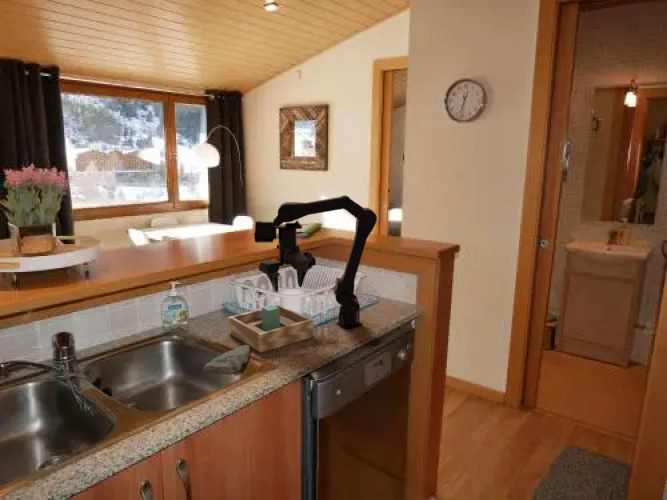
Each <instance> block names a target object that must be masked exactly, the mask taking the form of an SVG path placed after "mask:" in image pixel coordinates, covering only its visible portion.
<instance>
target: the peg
mask: <svg viewBox="0 0 667 500" xmlns="http://www.w3.org/2000/svg"><path fill="white" fill-rule="evenodd" d="M261 309H262V330H263V331H265V332H266V331H270V330H273V329H277V328H280V308H278V307H276V305H273V304H271V305H266V306H263V307H261Z"/></svg>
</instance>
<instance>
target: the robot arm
mask: <svg viewBox="0 0 667 500" xmlns="http://www.w3.org/2000/svg"><path fill="white" fill-rule="evenodd" d="M338 210H339V211H340V210H344V211H347V213H349V214H350V215H352V216H353V217H354V218H355V229H354V230H355V233H354V238H353V241H352V244H351V247H350V251H349V254H348V257H347V260H346V261H347V262H346V265H345V268H344V271H343V273H342V275H341V277H336V278H335V279H336V280H335V284H334V286H333V287H332V289H333V294H334V296H335V301H336V303H337V304H338V305H340V307H339V312H338V321H336V325H338V326H341V327H343V328H345V329H348V330H351V329H354V328H357V327H360V326H363V324H364V323H363V322H361V321H360V315H361V314H360V313H361V312H360V310H361V309H360V308H361V306H360V301H359V299H358V296H357V295H356V294H355V281H356V277H357V272H358V270H359V266H360V263H361V261H362V256H363V252H364V249H365V247H366V243H367V240H368V237H369V236H370V235H371V233H372V231H374V230H373V229H374V228H375V226H376V223H377V222H378V221H377V220H378V217H377V214H376V213H375V212H374V211H373V209H371V208H369V207H363V206H362V205H360V204H359V203H357V202H356V201H354V200H353V199H352V198H351V197H350V196H348V195H341V196H338V197H331V198H326V199H325V198H324V199H319V200H314V201H309V202H300V201H299V202H298V201H296V202H295V201H294V202H293V201H286V202H285V201H284V202H283V203H281V204H280V205H279V207H278V210H277V216H276V217H274V218H273V220H272V221H262V220H256V221H255V223H254V224H255V225H254V226H255V227H254V235H253V236H254V243H255V244H256V243H257V244H258V243H274V241H275V240H277V237H278V244H276V249H278V257H277V256H276V261H277V262H275V261H273V260H266V261H260V263H259V264H258V271H259V272H262V273H263V274H265V275H266V277H267V278H268V280H269V281H270V284H271V286H272V288H273V290H274V292H275V293H279V276H280V275H281V274H280V272H279V271H280V269H283V268H288V267H291V268H292V269H294V270H295V271H296V278H297V284H298V285H297V286H298V287H299V288H302V286H303V283H304V280H305V278H306V275H307V273H308V271H309V270H311V269H313V266H316V265H317V259H316V257H315V256H314V255H313V253H312V251H305V252H301V251H300V250H301V248H300V245H297V243H298V242H297V241H298V240H297V238H298V237H297V236H298V235H297V234H298V233H297V232H298V231H297V230H301V229H303V225H302V224H301V223H300V221H299V220H300V219H301V218H302V219H303V218H304V217H306V216H309V215H315V214H316V215H317V214H320V213H327V212H333V211H338ZM294 221H295V222H294ZM284 223H285V224H284ZM282 224H284V225H282ZM277 230H278V232H277Z"/></svg>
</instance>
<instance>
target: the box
mask: <svg viewBox="0 0 667 500" xmlns="http://www.w3.org/2000/svg"><path fill="white" fill-rule="evenodd" d="M280 305H281V304H277V305H275V306H276V307H278V308H280V328H277V329H273V330H270V331H266V332H265V331H263V330H262V308H261V309H256V310H251V311H248V312H244V313H239V314H235V315H230V316H228V328H229V329H228V331H229V335H230V336H233V337H235V338H236V339H238V340H239V341H241V342H243V343H244V344H245V345H249V346H250V348H252V349H254V350H256V351H258V352H260V353H264V352H267V351H270V350H274V349H277V348H280V347H284V346H287V345H290V344H293V343H297V342H300V341H303V340H307V339H309V338H313V337H314V319H313V318H311V317H308V316H306V315H303V314H302V313H300V312H296V311H294V310H292V309H290V308H288V309H284V308H283V307H284V306H283V305H281V306H280ZM282 306H283V307H282ZM289 309H290V310H289Z"/></svg>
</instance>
